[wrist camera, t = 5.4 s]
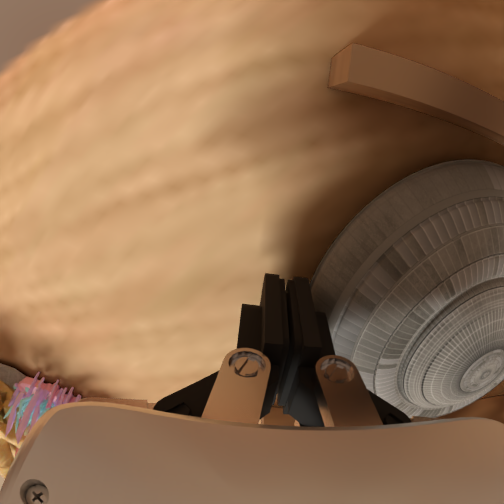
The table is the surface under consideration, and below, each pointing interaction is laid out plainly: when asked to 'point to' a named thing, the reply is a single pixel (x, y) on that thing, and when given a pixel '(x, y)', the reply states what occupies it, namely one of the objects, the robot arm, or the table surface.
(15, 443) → the candy landscape model
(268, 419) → the bay
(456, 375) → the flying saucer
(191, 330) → the table surface
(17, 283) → the table surface
